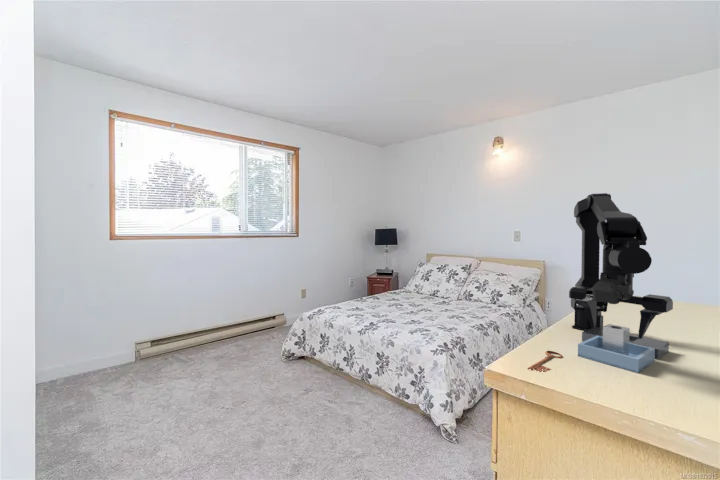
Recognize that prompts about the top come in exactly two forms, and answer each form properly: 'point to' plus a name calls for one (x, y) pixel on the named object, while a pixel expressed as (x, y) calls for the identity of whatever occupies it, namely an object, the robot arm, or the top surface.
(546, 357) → the key
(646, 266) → the robot arm
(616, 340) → the small speaker box
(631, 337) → the gray square hole plate
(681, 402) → the top surface
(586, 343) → the parts tray
